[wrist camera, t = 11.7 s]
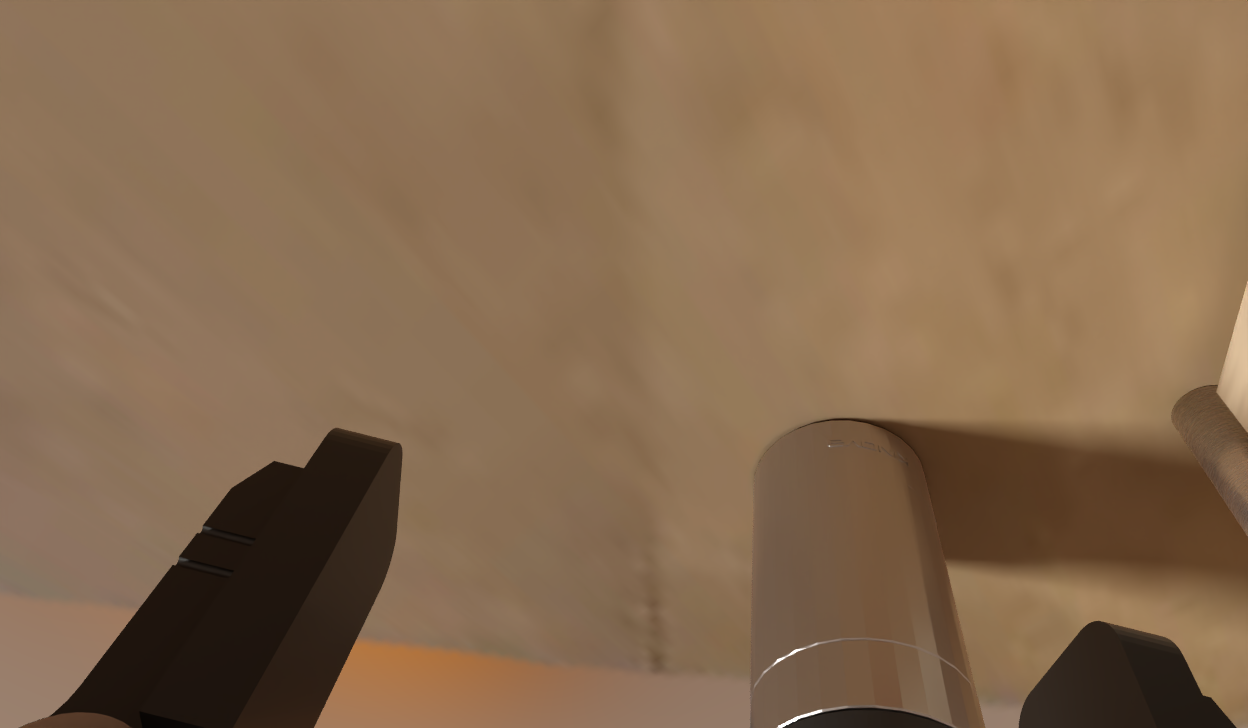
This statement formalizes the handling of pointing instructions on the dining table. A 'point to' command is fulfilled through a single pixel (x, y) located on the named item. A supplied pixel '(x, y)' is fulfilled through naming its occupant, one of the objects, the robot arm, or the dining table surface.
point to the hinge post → (1216, 446)
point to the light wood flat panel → (1237, 368)
